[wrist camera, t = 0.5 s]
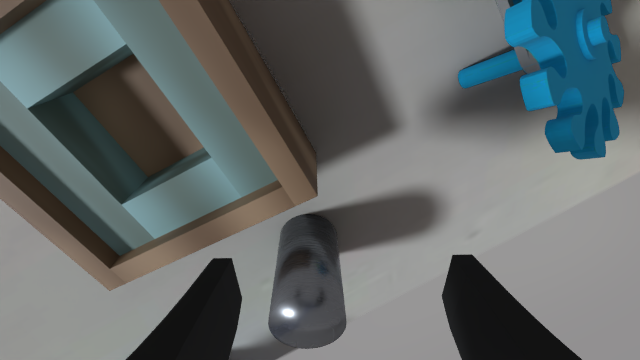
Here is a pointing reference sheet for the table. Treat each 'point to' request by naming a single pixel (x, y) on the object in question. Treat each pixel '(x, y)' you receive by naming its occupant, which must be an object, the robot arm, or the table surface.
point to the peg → (307, 285)
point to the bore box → (142, 130)
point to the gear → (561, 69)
